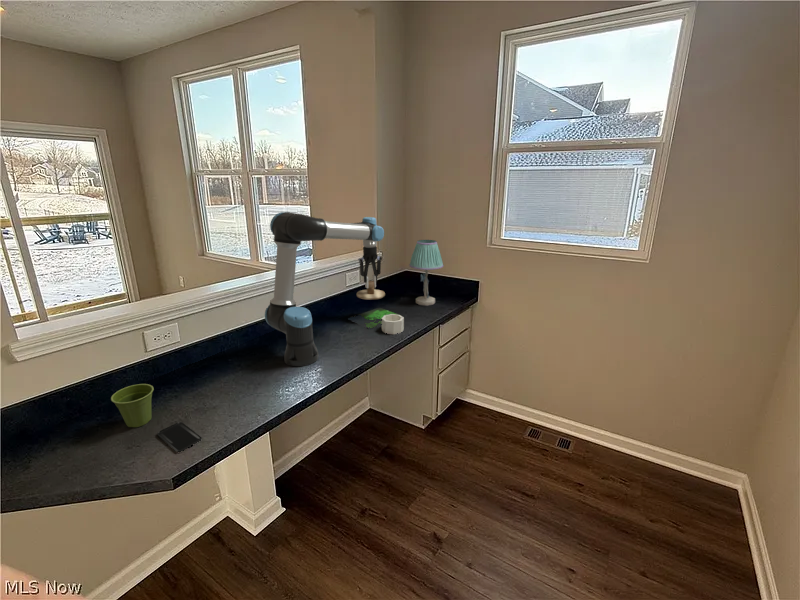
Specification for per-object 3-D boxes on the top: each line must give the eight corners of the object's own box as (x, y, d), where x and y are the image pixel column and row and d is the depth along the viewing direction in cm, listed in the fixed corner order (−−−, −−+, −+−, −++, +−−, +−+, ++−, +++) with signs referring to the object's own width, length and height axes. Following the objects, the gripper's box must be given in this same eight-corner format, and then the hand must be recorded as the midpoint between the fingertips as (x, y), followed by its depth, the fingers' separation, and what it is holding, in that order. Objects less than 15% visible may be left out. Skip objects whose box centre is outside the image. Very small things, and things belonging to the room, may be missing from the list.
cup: (388, 335, 201) (388, 323, 198) (379, 328, 210) (378, 316, 208) (406, 331, 206) (406, 319, 203) (397, 324, 215) (397, 313, 213)
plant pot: (133, 436, 125) (126, 406, 121) (110, 427, 129) (102, 398, 125) (167, 416, 135) (161, 388, 131) (145, 408, 139) (138, 380, 136)
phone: (180, 421, 131) (203, 438, 123) (181, 423, 131) (203, 441, 123) (155, 433, 125) (177, 452, 117) (156, 435, 125) (178, 455, 117)
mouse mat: (369, 330, 208) (369, 328, 208) (344, 319, 223) (344, 318, 223) (404, 317, 227) (404, 315, 226) (379, 308, 241) (379, 306, 241)
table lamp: (406, 297, 261) (407, 238, 248) (438, 296, 263) (440, 238, 250) (411, 308, 240) (412, 244, 227) (445, 307, 242) (448, 244, 230)
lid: (363, 301, 209) (363, 286, 206) (352, 293, 222) (352, 279, 220) (389, 297, 216) (389, 283, 214) (377, 289, 229) (377, 276, 227)
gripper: (358, 248, 203) (359, 290, 211) (386, 246, 211) (387, 287, 218) (352, 246, 210) (354, 287, 217) (381, 243, 217) (381, 283, 225)
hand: (370, 287), depth 218 cm, fingers closed on lid, 4 cm apart
